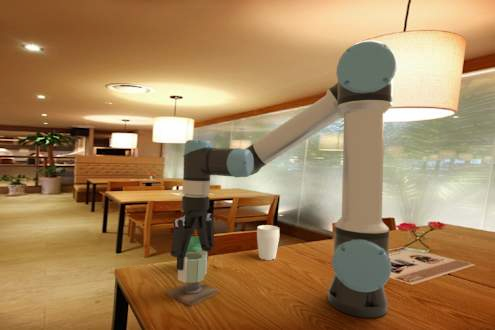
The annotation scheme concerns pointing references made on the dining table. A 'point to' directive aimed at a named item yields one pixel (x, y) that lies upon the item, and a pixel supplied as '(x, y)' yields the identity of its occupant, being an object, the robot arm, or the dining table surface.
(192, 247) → the mug
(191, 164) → the robot arm
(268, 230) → the cup
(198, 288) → the shaft block
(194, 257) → the pale green hollow tube
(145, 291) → the dining table surface
